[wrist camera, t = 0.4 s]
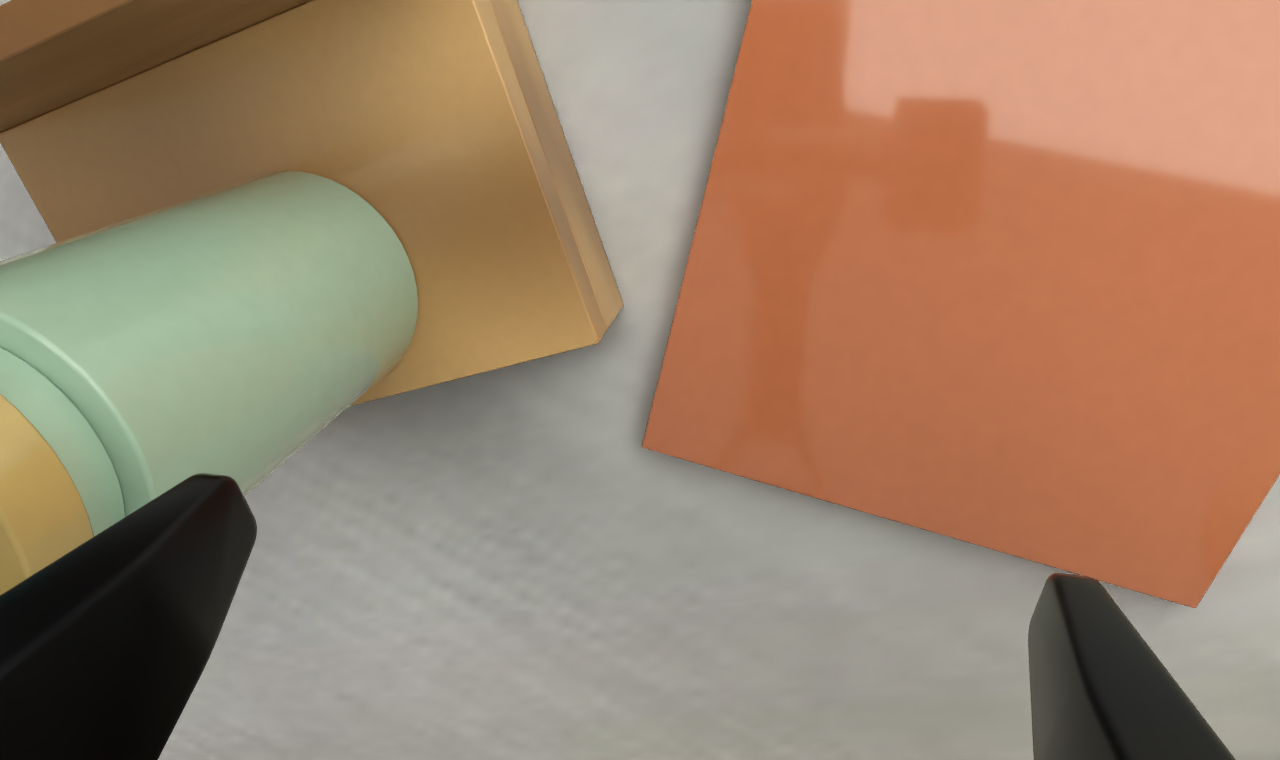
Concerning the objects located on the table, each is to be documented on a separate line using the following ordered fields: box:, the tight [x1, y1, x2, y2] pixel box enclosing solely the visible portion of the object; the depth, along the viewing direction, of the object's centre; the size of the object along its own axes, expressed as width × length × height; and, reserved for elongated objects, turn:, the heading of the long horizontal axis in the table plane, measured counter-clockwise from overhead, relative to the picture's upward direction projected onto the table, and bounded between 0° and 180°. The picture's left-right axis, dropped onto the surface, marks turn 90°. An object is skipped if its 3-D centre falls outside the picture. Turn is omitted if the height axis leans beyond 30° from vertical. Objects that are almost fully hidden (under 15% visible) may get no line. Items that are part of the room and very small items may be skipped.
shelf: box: [0, 0, 623, 406], centre depth 22 cm, size 10×14×9 cm
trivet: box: [642, 0, 1280, 608], centre depth 22 cm, size 16×16×1 cm
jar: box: [0, 171, 418, 595], centre depth 18 cm, size 6×6×12 cm
